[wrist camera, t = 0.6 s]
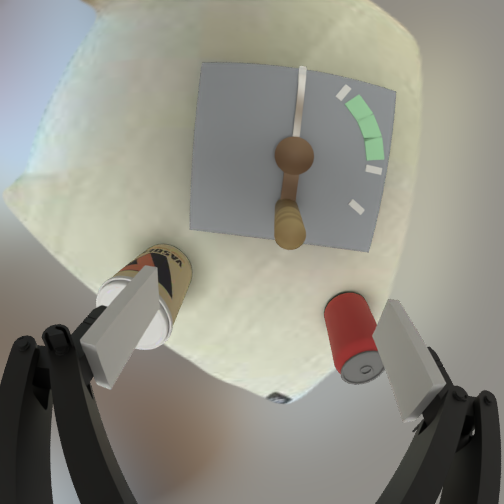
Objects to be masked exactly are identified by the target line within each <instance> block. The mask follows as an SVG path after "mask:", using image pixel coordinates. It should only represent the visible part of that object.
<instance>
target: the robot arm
mask: <svg viewBox="0 0 504 504" xmlns="http://www.w3.org/2000/svg"><path fill="white" fill-rule="evenodd" d="M159 308H160V304H159V289H158V271H157V267H152V266H147V265H145V266H144V267H143V268H142V269H141V270H140V271H139V272H138V273H137V274H136V276H135V277H134V278H133V279H132V280H131V281H130V282H129V283H128V284H127V285H126V287H125V288H124V289H123V290H122V291H121V292H120V293H119V294H118V295H117V297H116V298H115V299H114V300H113V301H112V302H111V303H110V305H109V306H108V307H107V306H104V305H101V306H99V307H97V308H95V309H94V310H93V311H92V312H91V313H90V314H89V315H88V317H86V318H85V319H84V321H83V323H81V324H80V325H79V327H77V329H76V330H75V331H74V332H73V333H72V334H70V331H69V329H68V328H67V327H66V326H64V325H61V324H58V325H52V326H50V327H48V328H47V329H46V330H45V331H44V332H43V334H42V339H43V341H44V344H45V346H39V345H37V344H36V341H35V339H34V338H33V337H31V336H22V337H20V338H18V339H17V340H16V341H15V342H14V344H13V346H12V349H11V352H10V355H9V358H8V361H7V364H6V367H5V370H4V374H3V377H2V380H1V384H0V504H53V499H52V487H51V471H50V436H51V418H52V407H53V405H54V411H55V417H56V422H57V427H58V431H59V436H60V441H61V445H62V449H63V453H64V456H65V459H66V463H67V467H68V470H69V473H70V476H71V479H72V482H73V485H74V488H75V490H76V493H77V496H78V498H79V501H80V503H81V504H137V501H136V499H135V498H134V496H133V494H132V492H131V490H130V488H129V486H128V484H127V482H126V480H125V478H124V476H123V473H122V471H121V469H120V467H119V465H118V463H117V460H116V458H115V455H114V453H113V450H112V448H111V445H110V443H109V440H108V437H107V435H106V432H105V429H104V426H103V423H102V420H101V417H100V414H99V411H98V408H97V404H96V401H95V397H94V393H93V390H92V386H91V384H90V381H91V380H92V378H93V376H94V379H95V381H96V383H97V385H100V386H103V387H105V388H108V389H110V390H111V389H112V387H113V385H114V383H115V382H116V380H117V378H118V377H119V375H120V373H121V371H122V370H123V368H124V366H125V364H126V363H127V361H128V359H129V358H130V356H131V354H132V353H133V351H134V349H135V347H136V346H137V344H138V342H139V341H140V339H141V337H142V336H143V334H144V333H145V331H146V329H147V328H148V326H149V324H150V323H151V321H152V320H153V318H154V316H155V315H156V313H157V312H158V310H159ZM372 337H373V339H374V342H375V344H376V347H377V349H378V352H379V355H380V357H381V360H382V362H383V365H384V368H385V371H386V373H387V376H388V379H389V382H390V385H391V387H392V390H393V393H394V396H395V399H396V402H397V405H398V408H399V412H400V415H401V418H402V421H403V422H410V421H415V420H416V419H417V418H418V417H419V416H420V415H421V414H423V417H424V419H423V420H422V421H421V422H420V423H419V424H418V425H417V427H415V428H414V430H413V432H415V431H416V430H417V431H416V433H415V436H414V438H413V440H412V442H411V444H410V446H409V448H408V450H407V452H406V454H405V456H404V458H403V459H402V461H401V463H400V465H399V467H398V468H397V470H396V472H395V474H394V475H393V477H392V479H391V480H390V482H389V484H388V485H387V487H386V488H385V490H384V491H383V493H382V494H381V496H380V498H379V499H378V501H377V502H376V503H375V504H435V503H436V500H437V498H438V496H439V494H440V492H441V489H442V487H443V489H442V494H441V499H440V503H439V504H498V501H499V491H500V478H501V439H500V425H499V415H498V407H497V401H496V398H495V396H494V395H493V394H492V393H491V392H489V391H486V390H484V391H482V392H481V393H480V394H479V395H478V396H477V397H472V396H468V394H467V393H466V391H465V390H464V389H463V388H461V387H459V386H454V385H453V383H452V381H451V379H450V378H449V376H448V374H447V372H446V370H445V368H444V367H443V364H442V363H441V361H440V359H439V357H438V355H437V354H436V352H435V351H434V350H432V349H431V347H427V346H426V345H425V343H424V341H423V339H422V338H421V336H420V334H419V332H418V331H417V329H416V327H415V326H414V324H413V322H412V321H411V319H410V317H409V316H408V314H407V313H406V311H405V309H404V308H403V306H402V305H401V303H400V301H399V300H393V299H388V300H387V303H386V305H385V308H384V310H383V312H382V315H381V317H380V319H379V322H378V324H377V326H376V329H375V331H374V333H373V335H372ZM474 429H475V434H474V435H472V431H473V430H474Z"/></svg>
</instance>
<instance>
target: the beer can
mask: <svg viewBox="0 0 504 504" xmlns="http://www.w3.org/2000/svg"><path fill="white" fill-rule="evenodd" d="M324 318H325V322H326V327H327V331H328V336H329V341H330V345H331V350H332V355H333V360H334V365H335V367H336V369H337V371H338V372H339V373H340V374H341V378H342V379H343V380H344V381H345V382H347V383H349V384H355V385H357V384H364V383H368V382H370V381H372V380H374V379H376V378H377V377H378V376H380V374H382V373H383V371H384V370H385V368H384V365H383V362H382V360H381V357H380V355H379V352H378V349H377V347H376V344H375V342H374V339H373V337H372V335H373V333H374V331H375V329H376V326H377V324H376V322H375V319H374V317H373V315H372V313H371V311H370V309H369V306H368V304H367V302H366V300H365V299H364V298H363V297H362V296H361V295H358V294H355V293H344V294H340V295H338V296H336V297H335V298H333V299H332V300H331V301H330V302H329V303H328V305H327V307H326V308H325V312H324Z"/></svg>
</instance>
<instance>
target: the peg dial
mask: <svg viewBox="0 0 504 504" xmlns="http://www.w3.org/2000/svg"><path fill="white" fill-rule="evenodd" d="M305 84H306V75H302V74H299V82H298V91H297V101H296V110H295V119H294V128H293V137H288V138H285V139H283V140H282V141H281V142H279V144H278V145H277V147H276V149H275V161H276V164H277V165H278V167H279V168H280V169H281V170H282V171H283V172H284V174H283V182H282V190H281V198H280V199H279V200H278V201H277V202H276V204H275V217H274V238H275V241H276V243H277V244H278V245H279V246H280V247H282V248H284V249H287V250H293V249H296V248H298V247H300V246H301V245H302V244H303V243H304V241H305V239H306V230H305V227H304V224H303V220H302V217H301V214H300V211H299V208H298V205H297V203H296V194H297V187H298V180H299V174H302V173H305V172H306V171H307V170H309V168H310V167H311V166H312V164H313V161H314V152H313V149H312V147H311V145H310V144H309V143H308V142H307V141H306V140H304V139H302V138H300V130H301V121H302V112H303V103H304V94H305Z"/></svg>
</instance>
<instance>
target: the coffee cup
mask: <svg viewBox="0 0 504 504" xmlns="http://www.w3.org/2000/svg"><path fill="white" fill-rule="evenodd" d="M145 265H147V266H152V267H157V271H158V289H159V304H160V308H159V310H158V312H157V313H156V315H155V316H154V318H153V320H152V321H151V323H150V324H149V326H148V328H147V329H146V331H145V333H144V334H143V336H142V337H141V339H140V341H139V342H138V344H137V346H136V347H135V348H136V349H141V350H150V349H154V348H156V347H158V346H160V345H162V344H164V343H165V342H166V341H167V340H168V338H169V337H170V335H171V332H172V328H173V324H174V322H175V319H176V317H177V314H178V312H179V309H180V307H181V305H182V302H183V300H184V297H185V295H186V292H187V290H188V287H189V284H190V282H191V278H192V269H191V265H190V262H189V260H188V258H187V257H186V256H185V255H184V254H183V253H182V252H181V251H180V250H179V249H177V248H175V247H173V246H171V245H167V244H158V245H155V246H152V247H151V248H149V249H147V250H146V251H145V252H143V253H142V254H141V255H139V256H138V257H137V258H135V259H134V260H133V261H131V262H130V263H129V264H128V265H126V266H125V267H124V268H123V269H121V270H120V271H119V272H118V273H116V274H115V275H114V276H113V277H112V278H110V279H108V280H106V281H105V282H104V283H103V284H102V285H101V287H100V288H99V291H98V294H97V300H96V307H99V306H101V305H104V306H107V307H108V306H109V305H110V303H111V302H112V301H113V300H114V299H115V298H116V297H117V295H118V294H119V293H120V292H121V291H122V290H123V289H124V288H125V287H126V285H127V284H128V283H129V282H130V281H131V280H132V279H133V278H134V277H135V276H136V274H137V273H138V272H139V271H140V270H141V269H142V268H143V267H144V266H145Z"/></svg>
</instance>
